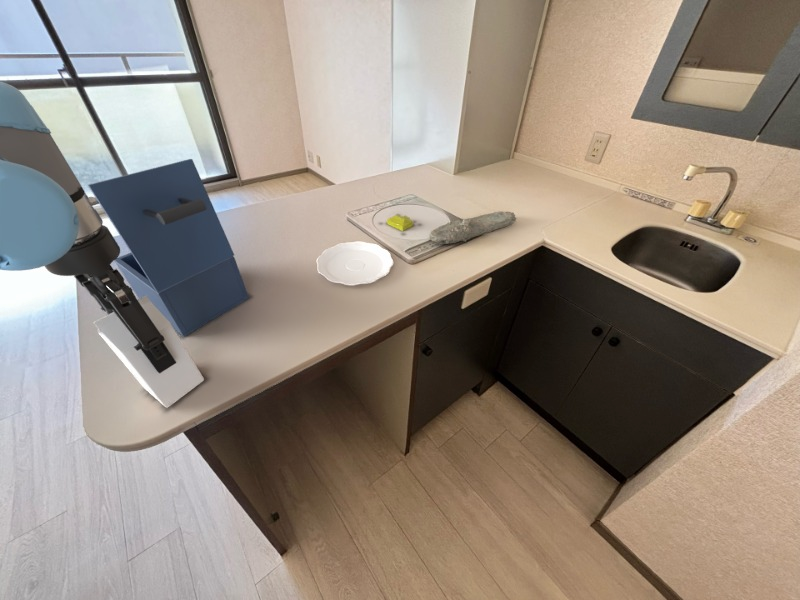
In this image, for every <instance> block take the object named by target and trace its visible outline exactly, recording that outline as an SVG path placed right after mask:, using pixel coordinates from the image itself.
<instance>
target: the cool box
mask: <svg viewBox="0 0 800 600" xmlns="http://www.w3.org/2000/svg"><path fill="white" fill-rule="evenodd" d="M113 262H114V263H115V264H116V266H117V268H118V269H119V271H120V273H121V275H122V276H123V278H124V279H125V280H126V281H127V283H128V284H129V287H131V289H132V291H133V293H134V294H135V296H137V298H138V299H140V298H142V297H144V296H147V297H148V298H149V300H150V302H151V303H152V304H153V305H154V306H155V307H156V308H157V309H158V310H159V311H160V312H161V313H162V314H163V315H164V317H165V318H166V319H167V320H168V321H169V322H170V323H171V325H172V326H173V328H174V330H175V331H176V333H178V334H180V335H181V336H182V337H184V338H185V337H186V336H188V335H190V334H192V333H193V332H195V331H197V330H198V329H200V328H201V327H203V326H205V325H206V324H208V323H210V322H212V321H213V320H215V319H216V318H218V317H220V316H222V315H223V314H225V313H226V312H228V311H230V310H231V309H233V308H235V307H236V306H238V305H240V304H242V303H243V302H245V301H246V300H248V299H250V296H249V294H248V291H247V288H246V285H245V283H244V279H243V278H242V274H241V272H240V269H239V267H238V264H237V261H236V258H235V255H234V256H232V257H230V258H228V259H226V260H224V261H222V262H219V263H217V264H215V265H213V266H211V267H209V268H207V269H205V270H203V271H201V272H199V273H197V274H195V275H193V276H191V277H189V278H187V279H185V280H182V281H180V282H178V283H176V284H174V285H172V286H170V287H168V288H166V289H164V290H162V291H160V292H157V291H156V290H155V289H154V287H153V286H152V284H151V282H150V281H149V279H148V278H147V276H146V275H145V273H144V272H143V270H142V269H141V267H140V266H139V264H138V262H137V261H136V259H135V258H134V256H133V255H132V253H131V252H129V253H126V254H124V255H121V256H118V257H117V259H116V260H114V261H113Z"/></svg>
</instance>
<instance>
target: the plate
mask: <svg viewBox="0 0 800 600" xmlns="http://www.w3.org/2000/svg"><path fill="white" fill-rule="evenodd" d="M315 263H316V265H317V266H316V267H317V268H316V271H317V272H318V274H319V275H321V276H323V277H324V278H325V279H326V280H327V281H329V282H331V283H333V284H336V283H337V284H341V285H345V286H357V285H366V284H367V285H369V284H371V283H375V282H377V281H378V280H379V279H381V278H383V277H386V276H387V275H388V274H390V271H391V268H392V267H393V266H394V259H393V258H392V255H391V252H390V251H389V250H387V249H385V248H384V247H382V246H380V245H379V244H376V243H372V242H366V241H361V240H356V241H349V242H347V241H346V242H340V243H337V244H336V245H334V246H330V247H328V248H326V249H325V250H323V251H322V253H321V254H320V255H319V256H318V257H317V258H316V262H315Z"/></svg>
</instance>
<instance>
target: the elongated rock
mask: <svg viewBox="0 0 800 600" xmlns="http://www.w3.org/2000/svg"><path fill="white" fill-rule="evenodd" d="M516 221H517V217H516V214H515V213H514V212H511V211H499V210H498V211H494V212H491V213H485V214H482V215H481V214H480V215H479V216H474V217H468V218H457V219H455V220H453V221H451V222H447V223H445V224H443V225H439V226H438V227H436V228H434V229H432V230H431V231H430V232H429V239H430V241H431V242H433V243H435V244H439V245H449V244H457V243H459V242H467V241H468V240H472V239H473V238H476V237H479V236H481V235H483V234H484V233H485V234H486V233H492V231H496V230H499V229H502V228H506V227H508V226H511V225H512V224H514V222H516Z"/></svg>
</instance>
